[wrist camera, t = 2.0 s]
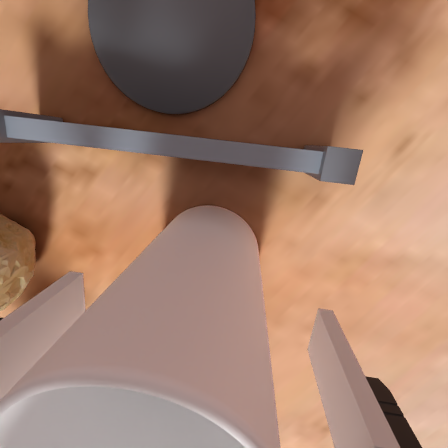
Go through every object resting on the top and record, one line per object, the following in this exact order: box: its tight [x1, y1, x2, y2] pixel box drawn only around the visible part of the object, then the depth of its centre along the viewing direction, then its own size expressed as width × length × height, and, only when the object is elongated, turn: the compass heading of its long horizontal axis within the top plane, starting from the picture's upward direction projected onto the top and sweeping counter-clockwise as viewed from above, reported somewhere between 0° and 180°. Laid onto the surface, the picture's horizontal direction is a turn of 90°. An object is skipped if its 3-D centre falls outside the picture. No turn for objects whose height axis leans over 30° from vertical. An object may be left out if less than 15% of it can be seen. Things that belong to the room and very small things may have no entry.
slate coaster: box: [88, 0, 255, 114], centre depth 17 cm, size 11×11×1 cm
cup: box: [0, 205, 280, 448], centre depth 14 cm, size 8×8×16 cm
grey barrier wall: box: [0, 109, 363, 185], centre depth 17 cm, size 22×2×6 cm, turn 84°
